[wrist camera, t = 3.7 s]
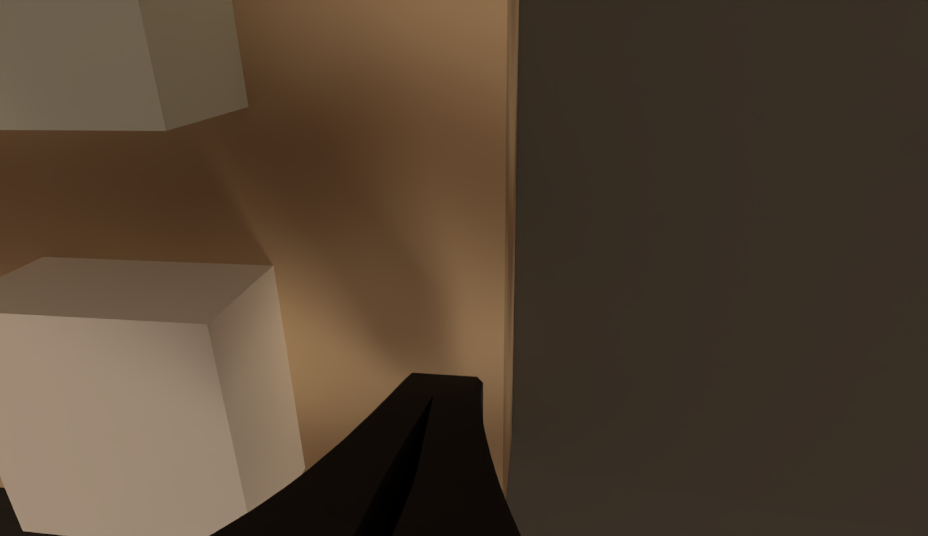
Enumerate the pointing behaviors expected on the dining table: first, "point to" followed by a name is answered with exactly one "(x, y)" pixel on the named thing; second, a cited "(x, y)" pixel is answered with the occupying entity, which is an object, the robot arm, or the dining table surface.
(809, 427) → the dining table surface
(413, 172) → the oak board
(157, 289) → the white tile
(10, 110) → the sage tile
